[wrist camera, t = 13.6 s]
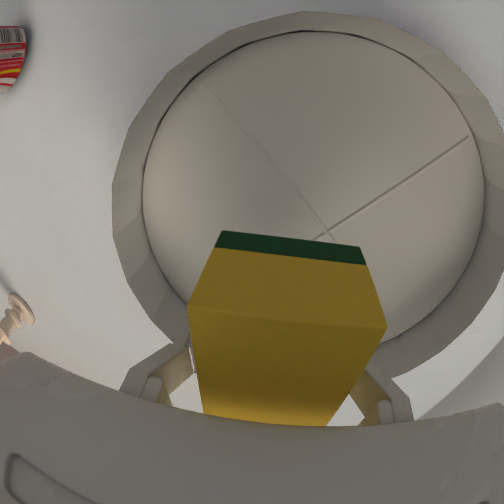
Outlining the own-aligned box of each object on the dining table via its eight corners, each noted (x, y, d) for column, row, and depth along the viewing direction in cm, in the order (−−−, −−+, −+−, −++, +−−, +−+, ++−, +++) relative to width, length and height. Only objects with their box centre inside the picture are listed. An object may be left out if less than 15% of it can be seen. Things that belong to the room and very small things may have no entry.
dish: (283, 373, 25) (280, 419, 20) (96, 197, 17) (51, 228, 13) (499, 255, 15) (531, 292, 11) (355, -23, 8) (377, -61, 4)
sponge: (221, 229, 10) (185, 305, 6) (360, 245, 9) (389, 327, 6) (222, 363, 14) (206, 428, 11) (314, 374, 14) (315, 440, 10)
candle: (11, 286, 25) (-34, 338, 16) (37, 314, 27) (-6, 370, 18) (8, 302, 28) (-31, 350, 19) (32, 327, 29) (-5, 378, 20)
